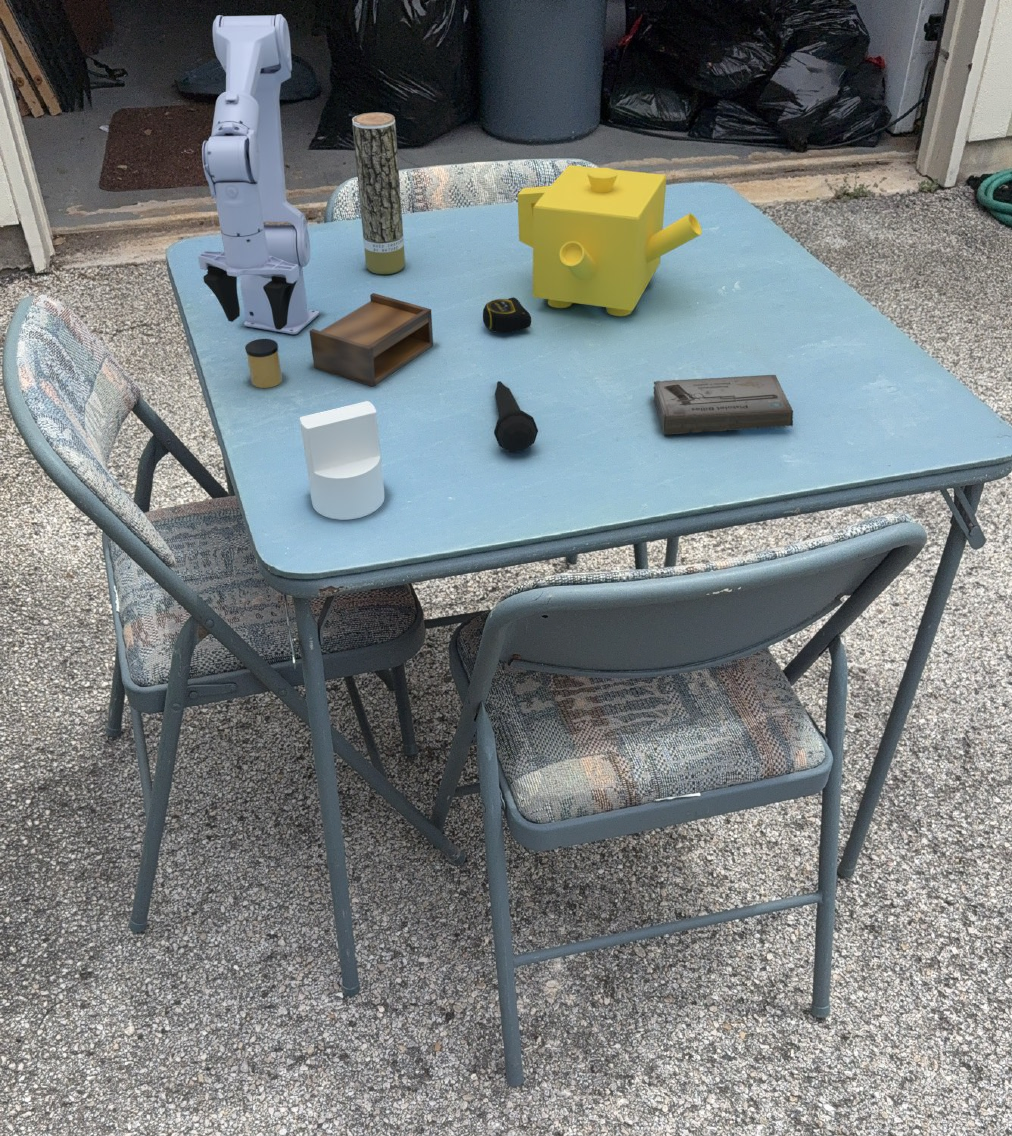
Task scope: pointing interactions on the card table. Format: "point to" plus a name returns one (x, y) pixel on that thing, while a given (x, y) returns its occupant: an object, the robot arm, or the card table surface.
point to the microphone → (513, 422)
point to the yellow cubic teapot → (598, 236)
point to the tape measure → (505, 316)
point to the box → (721, 404)
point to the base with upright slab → (344, 461)
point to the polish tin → (264, 363)
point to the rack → (373, 340)
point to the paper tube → (379, 191)
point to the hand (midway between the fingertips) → (257, 322)
